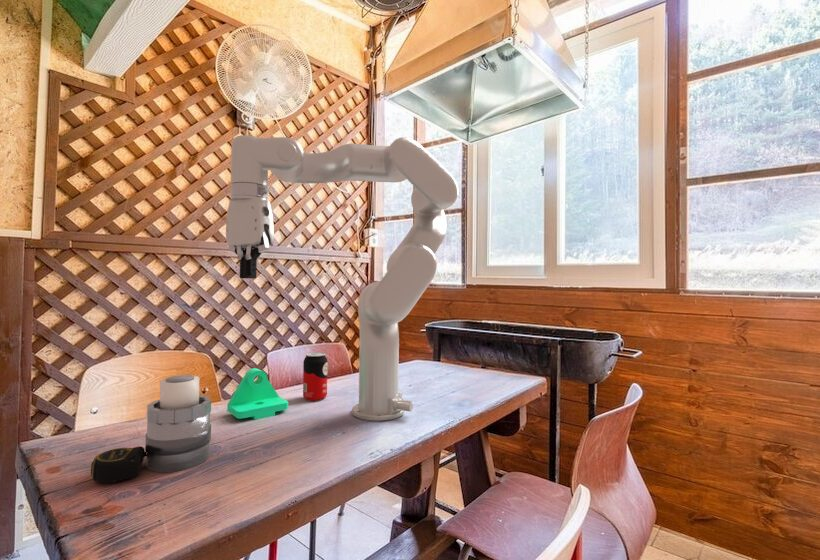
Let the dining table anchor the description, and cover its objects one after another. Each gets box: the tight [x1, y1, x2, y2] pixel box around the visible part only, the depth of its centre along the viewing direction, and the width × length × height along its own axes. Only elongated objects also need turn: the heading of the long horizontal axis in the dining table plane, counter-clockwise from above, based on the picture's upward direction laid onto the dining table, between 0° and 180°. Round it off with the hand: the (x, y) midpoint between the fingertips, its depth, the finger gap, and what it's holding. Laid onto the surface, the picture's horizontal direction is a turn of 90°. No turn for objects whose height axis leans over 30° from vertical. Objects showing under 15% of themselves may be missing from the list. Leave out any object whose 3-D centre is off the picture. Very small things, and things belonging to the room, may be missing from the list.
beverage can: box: [302, 351, 328, 402], centre depth 109 cm, size 6×6×12 cm
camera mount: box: [226, 367, 289, 421], centre depth 97 cm, size 12×8×10 cm, turn 131°
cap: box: [159, 374, 200, 410], centre depth 71 cm, size 6×6×6 cm
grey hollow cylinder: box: [144, 394, 212, 473], centre depth 71 cm, size 10×10×10 cm
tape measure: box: [90, 446, 147, 484], centre depth 65 cm, size 7×7×4 cm
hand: (248, 278), depth 89 cm, fingers closed
